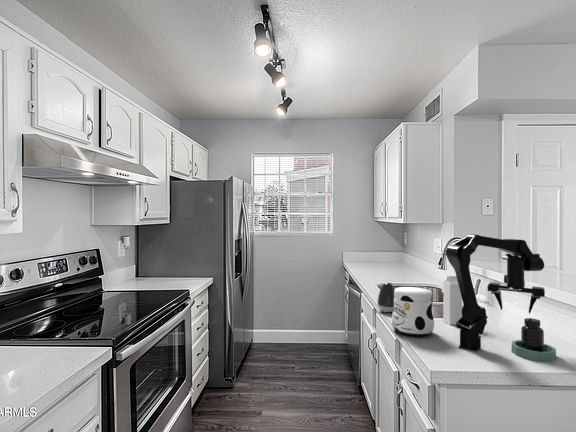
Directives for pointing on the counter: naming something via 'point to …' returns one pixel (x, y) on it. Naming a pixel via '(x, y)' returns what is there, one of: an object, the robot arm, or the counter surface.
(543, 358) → the cup
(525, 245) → the robot arm
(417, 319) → the milk container
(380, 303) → the black canister
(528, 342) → the supplement bottle
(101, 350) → the counter surface
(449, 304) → the milk
